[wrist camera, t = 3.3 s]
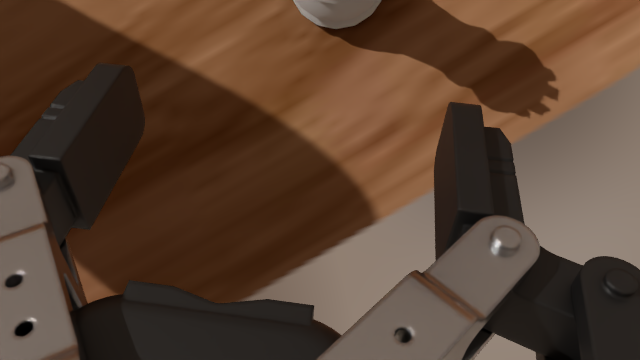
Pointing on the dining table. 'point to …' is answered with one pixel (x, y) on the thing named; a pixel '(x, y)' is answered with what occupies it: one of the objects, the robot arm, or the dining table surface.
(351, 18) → the rook chess piece
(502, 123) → the dining table surface
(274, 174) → the dining table surface
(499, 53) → the dining table surface
